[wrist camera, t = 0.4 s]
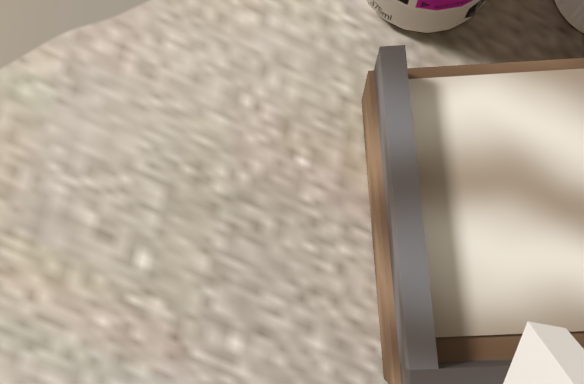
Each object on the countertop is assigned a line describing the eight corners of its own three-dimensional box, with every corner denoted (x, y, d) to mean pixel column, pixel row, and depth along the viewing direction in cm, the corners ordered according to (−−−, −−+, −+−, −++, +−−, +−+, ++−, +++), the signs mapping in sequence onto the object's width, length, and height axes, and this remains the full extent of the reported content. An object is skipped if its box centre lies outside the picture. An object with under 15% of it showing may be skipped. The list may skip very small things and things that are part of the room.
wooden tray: (670, 367, 26) (782, 386, 20) (384, 378, 27) (404, 401, 20) (612, 86, 30) (692, 26, 24) (361, 101, 30) (373, 46, 24)
